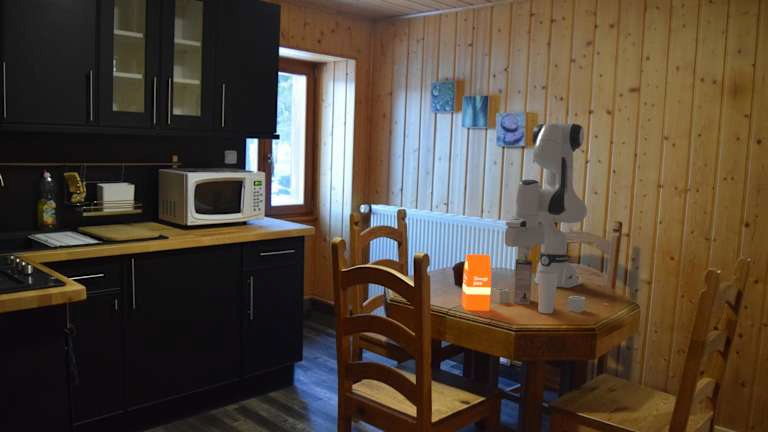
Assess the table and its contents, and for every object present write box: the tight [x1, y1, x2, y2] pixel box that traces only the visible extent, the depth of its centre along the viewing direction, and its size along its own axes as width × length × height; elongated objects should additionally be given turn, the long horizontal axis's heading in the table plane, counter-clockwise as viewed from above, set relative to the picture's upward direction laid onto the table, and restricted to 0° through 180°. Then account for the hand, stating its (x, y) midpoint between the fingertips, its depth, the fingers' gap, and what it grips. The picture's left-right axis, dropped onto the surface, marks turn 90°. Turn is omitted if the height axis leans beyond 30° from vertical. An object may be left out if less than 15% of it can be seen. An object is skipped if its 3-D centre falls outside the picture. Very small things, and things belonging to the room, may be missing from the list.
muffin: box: [451, 260, 466, 288], centre depth 282 cm, size 12×11×10 cm
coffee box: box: [513, 258, 533, 305], centre depth 254 cm, size 9×6×16 cm
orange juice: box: [461, 253, 492, 312], centre depth 240 cm, size 8×9×20 cm
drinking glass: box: [537, 271, 558, 315], centre depth 238 cm, size 7×7×15 cm
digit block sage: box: [490, 287, 511, 305], centre depth 253 cm, size 5×5×5 cm
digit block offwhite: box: [566, 295, 586, 314], centre depth 243 cm, size 5×5×5 cm
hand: (524, 257), depth 253 cm, fingers closed
